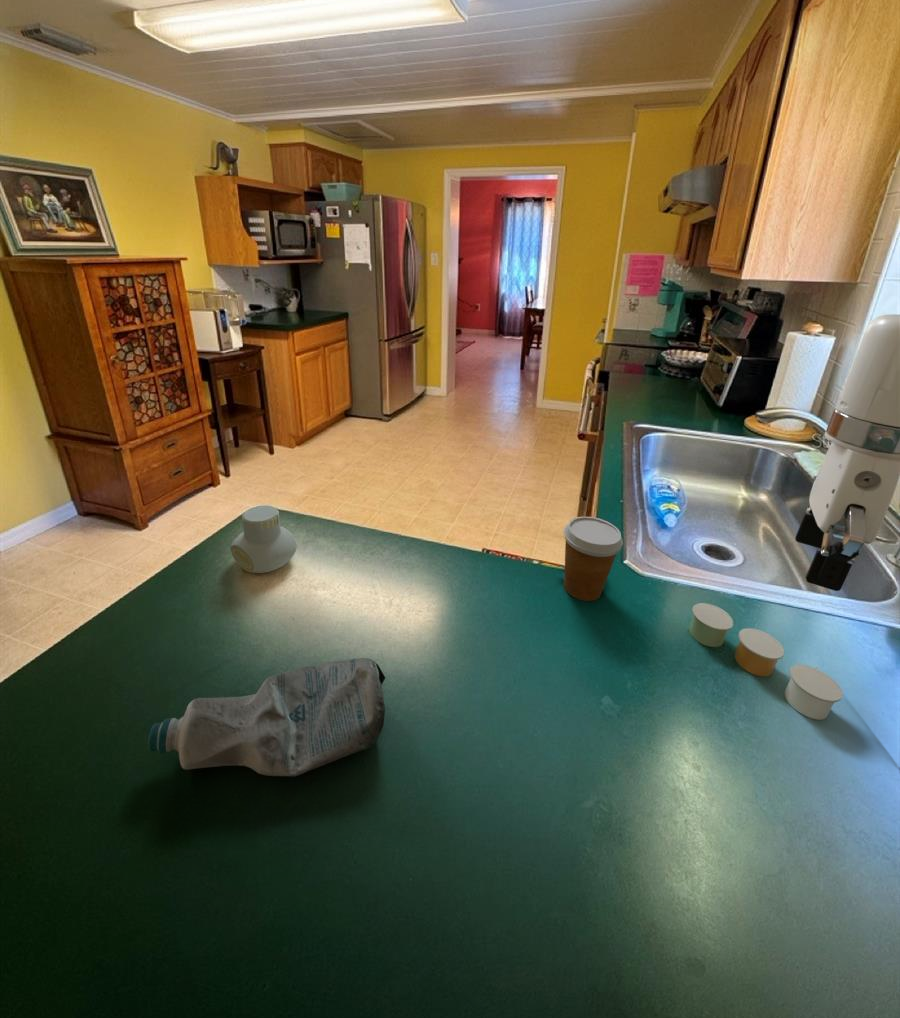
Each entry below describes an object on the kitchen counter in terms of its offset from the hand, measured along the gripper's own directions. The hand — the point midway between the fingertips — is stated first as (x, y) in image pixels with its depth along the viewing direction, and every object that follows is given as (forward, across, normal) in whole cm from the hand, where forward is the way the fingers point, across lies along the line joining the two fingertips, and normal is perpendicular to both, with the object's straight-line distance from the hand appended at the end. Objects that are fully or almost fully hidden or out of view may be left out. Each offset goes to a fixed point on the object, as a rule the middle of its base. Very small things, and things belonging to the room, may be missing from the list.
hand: (814, 563), depth 57 cm
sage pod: (+20, +6, +7) cm, 23 cm away
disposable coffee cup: (+21, +7, +27) cm, 35 cm away
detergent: (+21, -39, +50) cm, 67 cm away
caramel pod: (+20, +4, +1) cm, 21 cm away
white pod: (+20, 0, -5) cm, 21 cm away
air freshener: (+21, -18, +77) cm, 82 cm away
